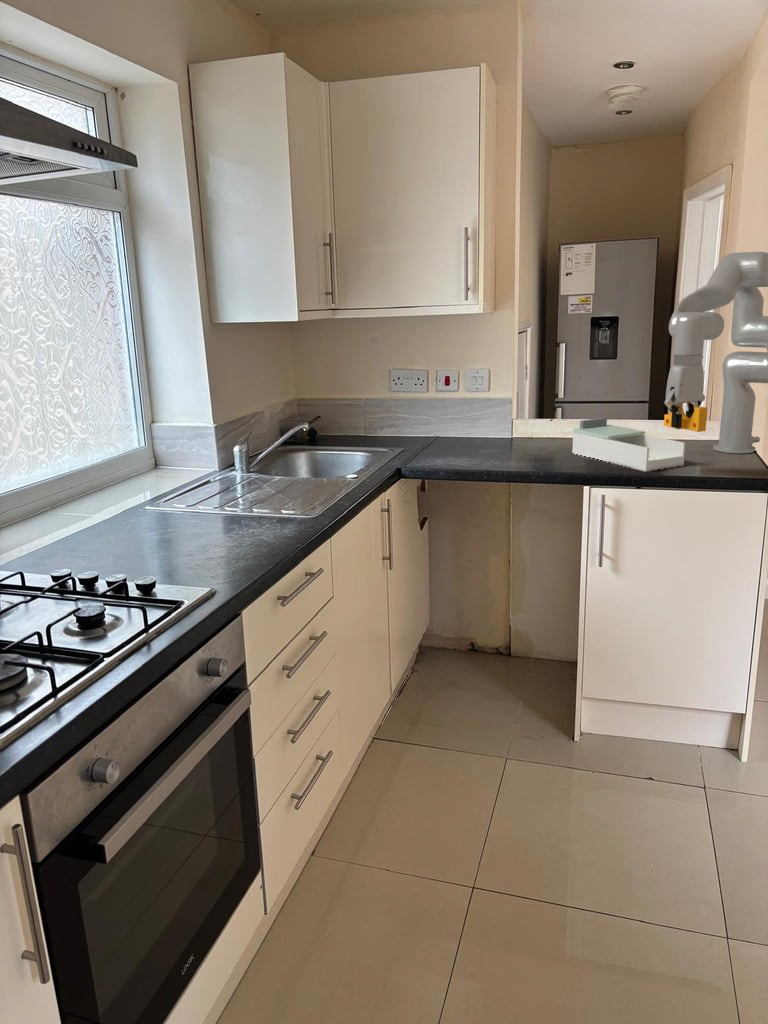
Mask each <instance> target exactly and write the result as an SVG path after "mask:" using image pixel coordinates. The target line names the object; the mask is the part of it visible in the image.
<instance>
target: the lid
mask: <svg viewBox="0 0 768 1024" xmlns="http://www.w3.org/2000/svg"><path fill="white" fill-rule="evenodd" d="M607 422H608V418H607V417H598V418H592V419H583V420H580V421H579V427H578V428H573V429H572V430H573V432H576V433H581V434H586V435H590V436H595V437H600V438H605V439H611V438H618V437H626V436H634V435H641V434H643V435H646V431H645V430H639V429H636V428H635V429H633V428H629V427H623V426H618V425H613V424H607Z"/></svg>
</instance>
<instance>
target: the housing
mask: <svg viewBox="0 0 768 1024" xmlns="http://www.w3.org/2000/svg"><path fill="white" fill-rule="evenodd" d="M571 451H572V453H574V454H573V455H576V454H578V455H577V456H580V455H582V456H581V457H584V456H586V457H585V458H588V457H591V458H590V459H592V458H595V459H594V460H596V459H599V460H598V461H600V460H603V461H602V462H604V461H606V462H605V463H608V462H611V463H610V464H613V463H614V464H613V465H617V464H618V465H617V466H621V465H622V466H621V467H625V466H626V467H625V468H629V467H630V468H629V469H634V470H637V471H641V472H645V473H647V472H653V470H654V471H659V470H658V469H660V470H665V469H664V468H666V469H672V468H671V467H673V468H678V467H677V466H679V467H684V465H685V454H686V442H684V441H678V440H673V439H668V438H662V437H658V436H653V435H648V434H641V435H634V436H626V437H618V438H611V439H607V438H602V437H597V436H593V435H588V434H583V433H578V432H574V431H573V432H572V450H571ZM572 453H571V454H572Z"/></svg>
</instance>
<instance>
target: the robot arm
mask: <svg viewBox="0 0 768 1024" xmlns="http://www.w3.org/2000/svg"><path fill="white" fill-rule="evenodd" d="M759 288H768V252H766V251H746V252H745V251H744V252H733V253H729V254H725V256H723V257H722V258H721V259H720V260H719V262H718V264H717V265H716V268H715V269H714V271H713V273H712V274H711V276H710V278H709V280H708V281H707V283H706V285H704V286H702V287H700V288H698V289H696V290H694V291H693V292H692V293H690V294H688V295H686V296H685V297H684V298H683V299H681V300H680V301H679V303H678V305H677V306H676V308H675V309H674V311H673V312H672V315H671V317H670V320H669V323H668V332H669V335H670V337H672V338H673V339H674V346H673V357H672V359H673V360H672V361H673V362H672V366H670V369H669V373H668V377H667V381H666V382H667V383H666V389H665V400H664V403H663V405H665V406H666V407H667V409H668V410H669V414H670V413H672V419H671V427H674V428H673V429H675V428H681V425H682V414H680V413H681V409H682V405H683V404H686V407H687V410H686V411H685V415H686V416H687V417H688V418H689V419H690V418H691V417H692V415H693V413H694V409H695V407H701V405H702V403H703V402H704V401H705V399H706V396H705V394H704V389H705V377H704V376H705V375H704V374H705V373H704V365H703V360H704V346H705V345H704V344H705V341H711V340H715V339H717V338H719V337H720V336H721V335H722V333H723V331H724V329H725V320H724V318H723V316H722V315H721V314H720V313H718V312H714V311H713V310H716V309H720V308H722V307H725V306H727V305H728V304H730V303H733V306H732V307H733V308H732V317H731V318H732V319H731V330H730V339H731V343H732V344H733V345H734V346H737V347H743V348H762V349H763V348H765V349H766V351H765V352H763V351H742V350H741V351H740V350H739V351H734V352H730V353H728V354H727V355H725V357H724V359H723V362H722V375H723V376H722V377H723V395H722V396H723V397H722V405H721V406H722V407H721V414H720V415H721V417H720V426H719V438H718V443H716V444H714V445H713V446H712V448H713V450H714V451H716V452H720V453H725V454H726V453H728V454H752V453H754V451H755V452H756V447H755V446H753V444H754V443H759V442H760V441H761V438H760V437H759V436H754V435H753V425H754V415H755V408H756V406H755V405H756V393H755V391H754V389H753V388H752V386H751V385H750V384H752V383H754V384H768V315H764V302H765V301H764V296H763V294H762V292H761V290H760V289H759ZM712 311H713V312H712ZM676 404H677V405H678V407H676ZM671 427H670V428H671Z"/></svg>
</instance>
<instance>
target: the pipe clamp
mask: <svg viewBox="0 0 768 1024" xmlns="http://www.w3.org/2000/svg"><path fill="white" fill-rule="evenodd" d="M676 407H678V405H677V404H676ZM680 414H682V425H681V428H674V427H671V419H672V413H670V412H669V413H668V414H664V415H663V416H664V419H663V426H664V427H668V428H672V429H677V430H684V429H685V430H688V431H692V432H696V433H700V432H706V430H707V429H706V428H707V416H708V407H707V406H699V407H695V409H694V413H693V415H692V417H691V418H690V419H689V418H688V417H687V416H686V412H685V411H684V407H683V405H682V409H681V413H680Z"/></svg>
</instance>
